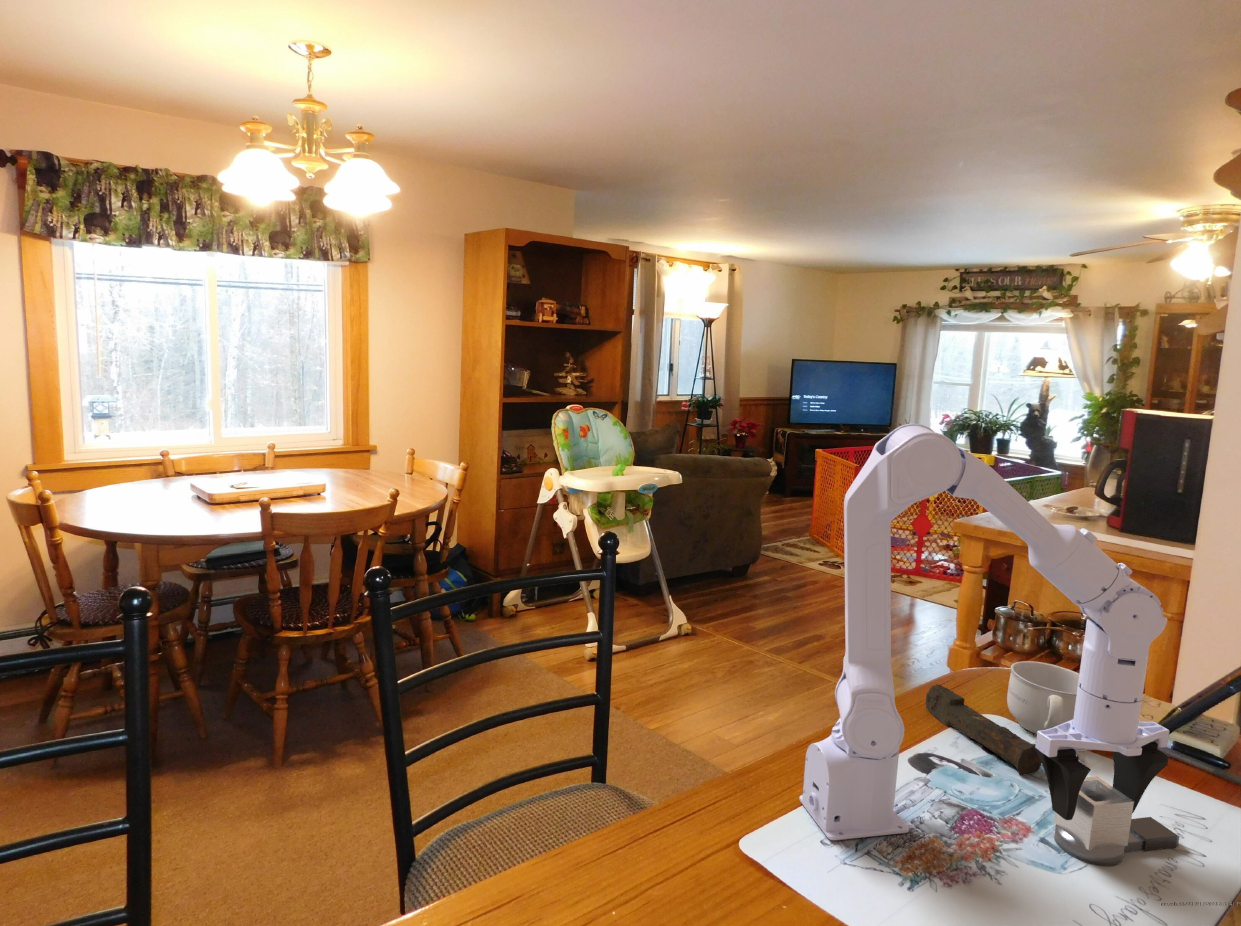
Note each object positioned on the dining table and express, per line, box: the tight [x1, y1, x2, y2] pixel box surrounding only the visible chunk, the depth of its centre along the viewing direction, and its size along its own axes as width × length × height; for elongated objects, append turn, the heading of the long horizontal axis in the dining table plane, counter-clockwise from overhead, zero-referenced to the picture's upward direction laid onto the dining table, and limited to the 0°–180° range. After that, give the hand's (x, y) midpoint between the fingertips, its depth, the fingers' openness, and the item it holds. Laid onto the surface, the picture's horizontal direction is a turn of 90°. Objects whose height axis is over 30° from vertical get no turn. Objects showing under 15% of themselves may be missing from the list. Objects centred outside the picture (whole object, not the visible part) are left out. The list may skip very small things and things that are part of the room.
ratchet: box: [1053, 800, 1180, 868], centre depth 85 cm, size 13×6×5 cm, turn 102°
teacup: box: [1006, 660, 1080, 735], centre depth 109 cm, size 14×11×8 cm
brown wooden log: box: [925, 684, 1042, 776], centre depth 107 cm, size 19×4×5 cm, turn 18°
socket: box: [1053, 776, 1134, 850], centre depth 84 cm, size 5×5×5 cm
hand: (1092, 811), depth 84 cm, fingers open, 7 cm apart
